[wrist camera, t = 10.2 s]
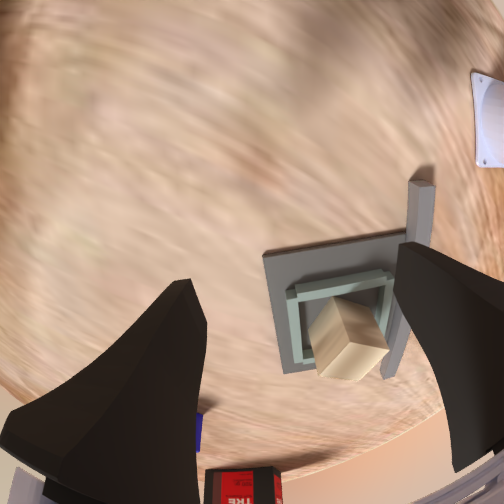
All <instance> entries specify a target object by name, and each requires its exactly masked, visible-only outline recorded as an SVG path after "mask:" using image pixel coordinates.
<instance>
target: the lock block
mask: <svg viewBox="0 0 504 504" xmlns="http://www.w3.org/2000/svg"><path fill="white" fill-rule="evenodd" d="M308 333H309V337H310V341H311V346H312V350H313V354H314V359H315V363H316V368H317V372H318V376H320V377H327V378H335V379H342V380H351V381H359V380H360V379H361V378H362V377H363V376H365V375H366V374H367V373H368V372H369V371H370V370H371V369H372V368H373V367H374V366H375V365H376V364H377V363H378V362H379V361H380V360H381V359H382V358H383V357H384V356H385V355H386V354H387V353H388V352H389V351H390V349H389V347H388V345H387V343H386V341H385V338H384V336H383V334H382V332H381V330H380V328H379V326H378V324H377V322H376V320H375V318H374V316H373V314H372V312H371V310H370V308H369V307H366V306H363V305H360V304H357V303H354V302H351V301H348V300H345V299H341V298H338V297H335V296H332V297H331V298H330V300H329V301H328V303H327V304H326V305H325V307H324V308H323V310H322V311H321V312H320V314H319V315H318V317H317V318H316V319H315V321H314V322H313V323H312V325H311V326H310V327H309V329H308Z"/></svg>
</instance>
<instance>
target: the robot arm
mask: <svg viewBox="0 0 504 504" xmlns="http://www.w3.org/2000/svg"><path fill="white" fill-rule="evenodd" d="M479 79H480V80H479ZM471 81H472V89H473V98H474V109H475V127H476V165H477V166H479V167H503V168H504V82H502V81H499V80H497V79H494V78H491V77H488V76H485V75H482V74H479V73H476V72H472V73H471ZM483 161H484V162H483ZM393 292H394V295H395V297H396V300H397V302H398V304H399V307H400V309H401V311H402V313H403V315H404V317H405V319H406V320H407V322H408V324H409V326H410V327H411V329H412V331H413V333H414V334H415V336H416V338H417V340H418V341H419V343H420V345H421V347H422V349H423V350H424V352H425V354H426V356H427V358H428V360H429V362H430V364H431V366H432V369H433V371H434V374H435V377H436V380H437V383H438V386H439V389H440V392H441V395H442V399H443V403H444V406H445V410H446V415H447V420H448V425H449V431H450V438H451V449H452V465H453V468H454V471H455V473H457V472H459V471H461V470H462V469H464V468H465V467H467V466H469V465H471V464H472V463H474V462H475V461H477V460H478V459H480V458H481V457H483V456H484V455H486V454H487V453H489V452H490V451H492V450H493V452H494V455H495V456H494V457H492V458H491V459H489V460H488V461H487V462H485V463H484V464H482V465H481V466H479V467H478V468H476V469H475V470H473V471H472V472H470V473H468V474H467V475H465V476H463V477H461V478H460V479H458V480H456V481H455V482H453V483H451V484H449V485H447V486H445V487H444V488H441V489H440V490H438V491H436V492H434V493H431V494H430V495H427V496H425V497H423V498H421V499H418V500H416V501H414V502H411V503H409V504H455V503H456V502H458V501H459V502H458V503H456V504H504V282H502V281H499V280H497V279H494V278H492V277H490V276H487V275H485V274H483V273H481V272H479V271H477V270H475V269H472V268H470V267H468V266H466V265H464V264H462V263H460V262H458V261H456V260H454V259H452V258H450V257H448V256H446V255H444V254H442V253H440V252H438V251H436V250H434V249H432V248H429V247H427V246H425V245H422V244H420V243H417V242H414V241H411V242H405V243H400V244H399V246H398V255H397V264H396V272H395V279H394V286H393ZM206 345H207V321H206V318H205V316H204V313H203V310H202V308H201V305H200V303H199V300H198V297H197V295H196V292H195V289H194V286H193V284H192V281H191V278H190V279H183V280H177V281H173V282H172V283H171V284H170V285H169V286H168V287H167V288H166V289H165V290H164V291H163V292H162V293H161V294H160V296H159V297H158V298H157V299H156V300H155V301H154V302H153V303H152V304H151V305H150V306H149V308H148V309H147V310H146V311H145V312H144V313H143V314H142V315H141V316H140V317H139V318H138V319H137V320H136V322H135V323H134V324H133V325H132V326H131V327H130V328H129V329H128V330H127V331H126V332H125V333H124V334H123V335H122V336H121V337H120V338H119V339H118V340H117V341H116V342H115V343H114V344H113V345H111V346H110V347H109V348H108V349H107V350H106V351H105V352H104V353H103V354H101V355H100V356H99V357H98V358H97V359H96V360H94V361H93V362H92V363H91V364H89V365H88V366H87V367H85V368H84V369H83V370H81V371H80V372H79V373H77V374H76V375H75V376H73V377H72V378H71V379H69V380H68V381H66V382H65V383H63V384H62V385H60V386H59V387H57V388H55V389H54V390H52V391H50V392H49V393H47V394H45V395H44V396H42V397H40V398H38V399H36V400H34V401H32V402H30V403H28V404H26V405H24V406H22V407H20V408H17V409H15V410H13V411H11V412H10V414H9V415H8V417H7V419H6V422H5V424H4V427H3V429H2V432H1V434H0V447H1V448H2V449H3V450H5V451H6V452H8V453H9V454H10V455H12V456H13V457H15V458H16V459H18V460H19V461H21V462H22V463H24V464H25V465H27V466H29V467H30V468H32V469H33V470H35V471H37V472H39V473H40V474H42V475H44V476H46V480H45V482H43V481H42V480H40V479H38V478H37V477H34V476H33V475H31V474H30V473H28V472H26V471H25V470H23V469H21V468H20V467H16V471H15V474H14V478H13V482H12V486H11V490H10V494H9V499H8V503H7V504H200V497H199V489H198V478H197V463H196V413H197V403H198V397H199V390H200V384H201V378H202V372H203V366H204V360H205V354H206ZM485 484H486V485H485ZM483 485H485V488H484V489H483V490H481V491H479V492H477V493H475V494H473V495H471V496H469V497H467V496H468V495H470V494H471V493H473V492H474V491H476V490H477V489H479V488H480V487H482V486H483ZM465 497H467V498H465ZM463 498H465V499H463ZM462 499H463V500H462ZM460 500H461V501H460Z"/></svg>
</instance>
